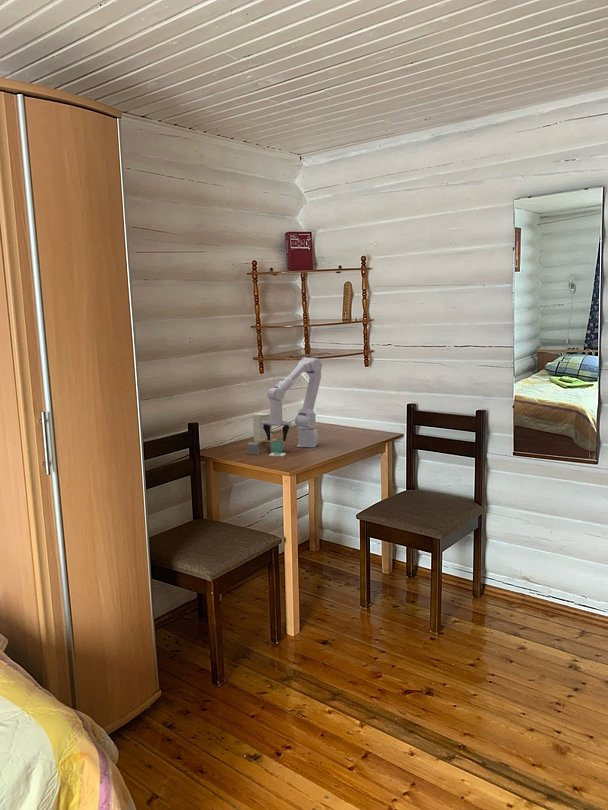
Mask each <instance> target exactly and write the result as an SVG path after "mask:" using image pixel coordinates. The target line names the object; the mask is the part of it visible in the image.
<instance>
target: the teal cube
mask: <svg viewBox="0 0 608 810" xmlns="http://www.w3.org/2000/svg"><path fill="white" fill-rule="evenodd" d="M284 450H285V449H284V441H283V439H281V440H279V439H278V440H273V441H272V442H271V449H270V453H283V452H284Z"/></svg>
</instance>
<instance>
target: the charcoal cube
mask: <svg viewBox="0 0 608 810" xmlns="http://www.w3.org/2000/svg"><path fill="white" fill-rule="evenodd" d="M246 453H247V455H249V456H251V455H252V456H258V455H259V454H261V449H260V442H254V441H250V442H248V443H246Z"/></svg>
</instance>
